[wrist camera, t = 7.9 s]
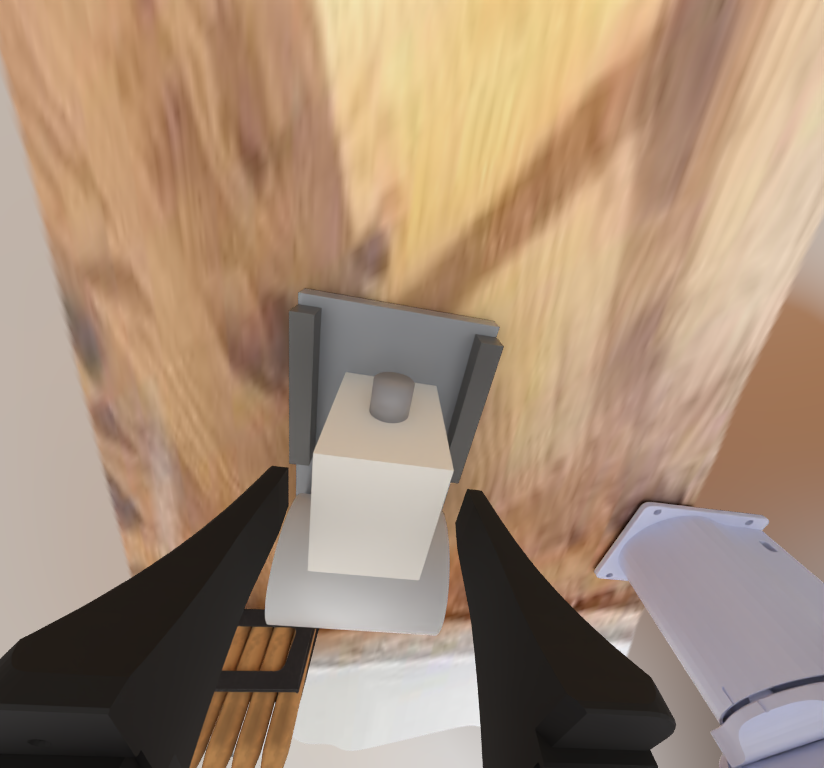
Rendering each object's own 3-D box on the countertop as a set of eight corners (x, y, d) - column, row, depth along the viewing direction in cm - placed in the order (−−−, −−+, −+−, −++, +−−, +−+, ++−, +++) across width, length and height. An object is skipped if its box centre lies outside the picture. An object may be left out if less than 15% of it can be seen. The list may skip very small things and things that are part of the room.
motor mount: (493, 321, 15) (558, 388, 9) (428, 537, 22) (437, 659, 16) (305, 288, 14) (225, 337, 8) (300, 524, 21) (256, 649, 15)
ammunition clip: (319, 610, 26) (260, 877, 15) (320, 622, 27) (265, 883, 16) (188, 607, 25) (31, 884, 15) (193, 619, 26) (48, 890, 16)
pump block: (442, 360, 15) (464, 436, 9) (414, 475, 18) (419, 580, 13) (348, 345, 14) (314, 415, 9) (336, 466, 18) (307, 571, 12)
